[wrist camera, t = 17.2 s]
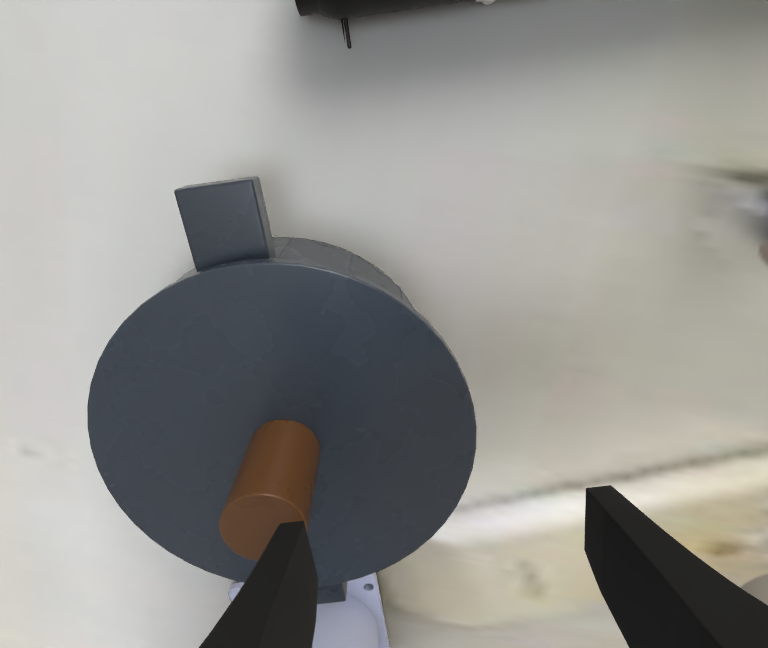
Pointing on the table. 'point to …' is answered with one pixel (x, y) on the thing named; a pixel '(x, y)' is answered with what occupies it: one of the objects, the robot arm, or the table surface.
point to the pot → (258, 251)
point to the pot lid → (282, 419)
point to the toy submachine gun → (363, 8)
